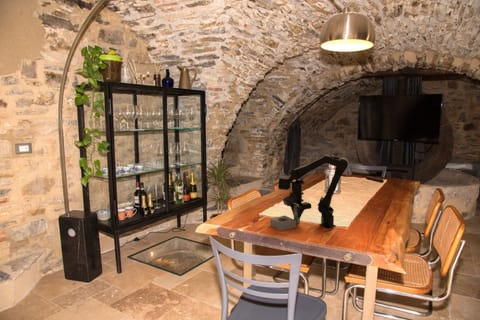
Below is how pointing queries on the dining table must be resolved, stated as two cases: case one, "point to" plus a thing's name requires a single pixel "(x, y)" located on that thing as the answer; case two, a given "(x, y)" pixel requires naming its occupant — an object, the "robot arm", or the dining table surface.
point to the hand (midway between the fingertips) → (296, 217)
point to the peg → (296, 215)
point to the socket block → (282, 223)
